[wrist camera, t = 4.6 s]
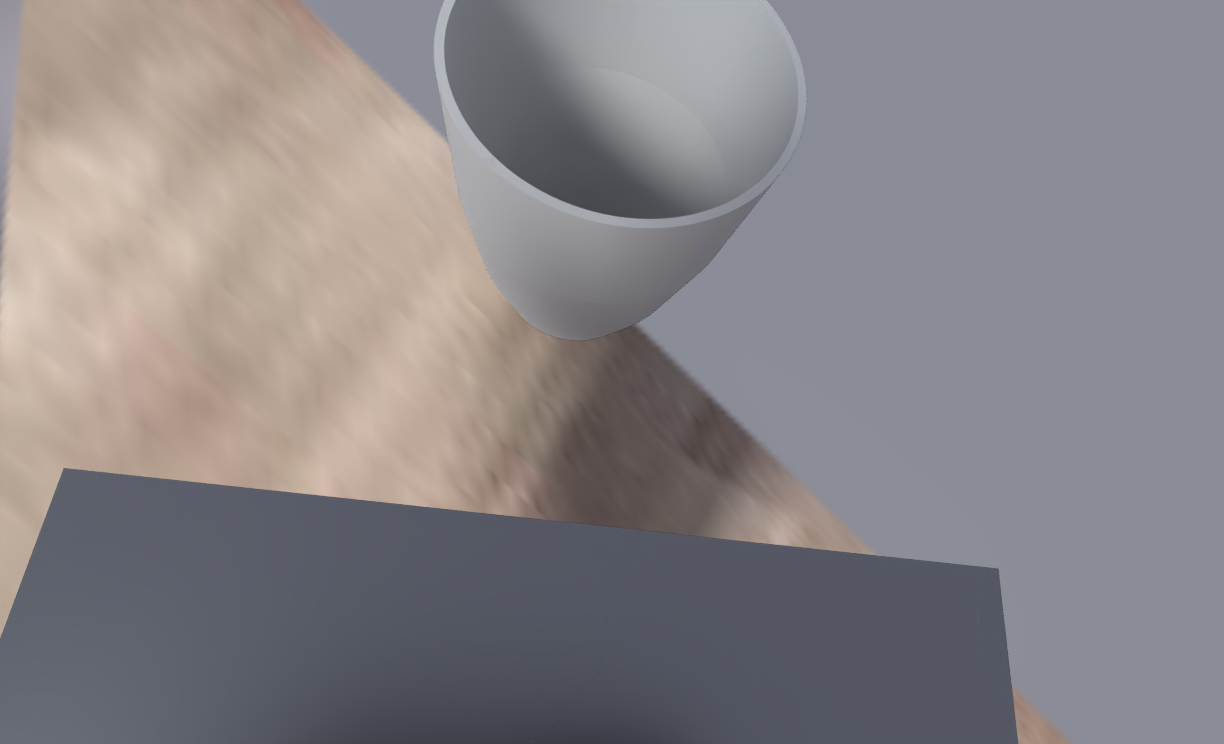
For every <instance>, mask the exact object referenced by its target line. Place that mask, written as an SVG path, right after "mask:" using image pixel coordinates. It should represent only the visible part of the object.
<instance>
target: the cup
mask: <svg viewBox="0 0 1224 744" xmlns="http://www.w3.org/2000/svg"><path fill="white" fill-rule="evenodd" d="M434 63H435V70H436V76H437V82H438V87H439V92H440V97H441V103H442V108H443V114H444V119H445V125H446V130H447V136H448V141H449V146H450V152H451V157H452V162H453V168H454V173H455V179H456V184H457V189H458V194H459V198H460V202H461V205H462V208H463V210H464V213H465V215H466V218H467V221H468V223H469V226H470V228H471V231H472V234H473V236H474V239H475V241H476V244H477V246H478V249H479V252H480V254H481V257H482V259H483V262H484V265H485V267H486V270H487V272H488V274H489V276H490V278H491V279H492V281H493V283H494V284H495V286H496V287H497V288H498V290H499V291H500V292H501V293H502V295H503V296H504V297H505V298H506V299H507V301H508V302H509V303H510V304H511V305H512V306H513V308H514V309H515V310H516V311H517V312H518V313H519V315H520V316H521V317H522V318H523V319H524V320H525V321H527V322H528V323H529V324H530V325H532V326H533V327H535V328H536V329H538V330H540V331H541V332H543V333H546V334H548V335H550V336H553V337H556V338H560V339H565V340H575V341H582V340H591V339H596V338H600V337H603V336H606V335H608V334H611V333H613V332H616V331H619V330H621V329H624V328H626V327H629V326H631V325H634V324H636V323H638V322H640V321H641V320H643V319H645V318H646V317H648V316H649V315H651V314H652V313H653V312H654V311H656V310H657V309H658V308H659V307H660V306H661V305H662V304H664V303H665V302H666V301H667V300H668V299H669V298H671V296H673V295H674V294H675V293H676V292H678V291H679V290H680V289H681V288H682V287H683V286H684V285H685V284H687V283H688V282H689V281H690V280H692V279H693V278H694V277H695V276H696V275H697V274H698V273H700V272H701V271H702V270H703V269H704V268H705V267H706V266H707V265H708V264H709V263H710V261H711V260H712V259H713V258H714V256H715V255H716V254H717V253H718V252H719V250H720V249H721V248H722V247H723V245H724V244H725V243H726V241H727V240H728V239H729V238H730V236H731V235H732V234H733V233H734V231H735V230H736V229H737V228H738V226H739V225H740V224H741V222H742V221H743V220H744V219H745V218H746V216H747V215H748V214H749V213H750V211H751V210H752V209H753V207H754V206H755V205H756V204H757V203H758V201H759V200H760V199H761V197H762V196H763V195H764V194H765V192H766V191H767V190H768V189H769V187H770V186H771V185H772V184H773V182H774V181H775V180H776V179H777V177H778V176H779V175H780V174H781V172H782V171H783V170H784V168H785V167H786V166H787V164H788V163H789V161H790V159H791V158H792V155H793V154H794V152H795V150H796V148H797V145H798V143H799V140H800V138H801V135H802V131H803V127H804V123H805V116H806V107H807V93H806V82H805V76H804V71H803V67H802V63H801V60H800V57H799V54H798V51H797V49H796V46H795V44H794V42H793V40H792V38H791V36H790V34H789V32H788V30H787V28H786V27H785V25H784V24H783V22H782V20H781V19H780V17H779V16H778V14H777V13H776V12H775V10H774V9H773V8H772V6H771V5H770V4H769V3H768V2H767V0H445V1H444V4H443V6H442V8H441V11H440V14H439V17H438V21H437V25H436V31H435V38H434Z"/></svg>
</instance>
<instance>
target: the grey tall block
mask: <svg viewBox="0 0 1224 744" xmlns="http://www.w3.org/2000/svg"><path fill="white" fill-rule="evenodd" d="M0 744H1018V738H1017V729H1016V720H1015V712H1014V703H1013V694H1012V685H1011V676H1010V668H1009V659H1008V650H1007V641H1006V632H1005V624H1004V615H1003V606H1002V597H1001V588H1000V580H999V571H998V569H996V568H986V567H978V566H968V565H958V564H950V563H940V562H931V561H921V560H913V559H903V558H894V557H885V556H875V555H866V554H857V553H848V552H838V551H829V550H820V549H810V548H801V547H792V546H783V545H773V544H764V543H755V542H745V541H736V540H727V539H718V538H708V537H699V536H690V535H680V534H671V533H662V532H652V531H643V530H634V529H625V528H615V527H606V526H597V525H587V524H578V523H569V522H560V521H550V520H541V519H532V518H522V517H513V516H504V515H495V514H485V513H476V512H467V511H457V510H448V509H439V508H430V507H420V506H411V505H402V504H392V503H383V502H374V501H365V500H355V499H346V498H337V497H327V496H318V495H309V494H300V493H290V492H281V491H272V490H262V489H253V488H244V487H235V486H225V485H216V484H207V483H197V482H188V481H179V480H170V479H160V478H151V477H142V476H132V475H123V474H114V473H105V472H95V471H86V470H77V469H67V468H64V469H63V472H62V474H61V477H60V480H59V482H58V485H57V488H56V490H55V493H54V496H53V498H52V501H51V504H50V507H49V509H48V512H47V515H46V517H45V520H44V523H43V525H42V528H41V531H40V533H39V536H38V539H37V541H36V544H35V547H34V549H33V552H32V555H31V558H30V560H29V563H28V566H27V568H26V571H25V574H24V576H23V579H22V582H21V584H20V587H19V590H18V592H17V595H16V598H15V600H14V603H13V606H12V608H11V611H10V614H9V617H8V619H7V622H6V625H5V627H4V630H3V633H2V635H1V638H0Z"/></svg>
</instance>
